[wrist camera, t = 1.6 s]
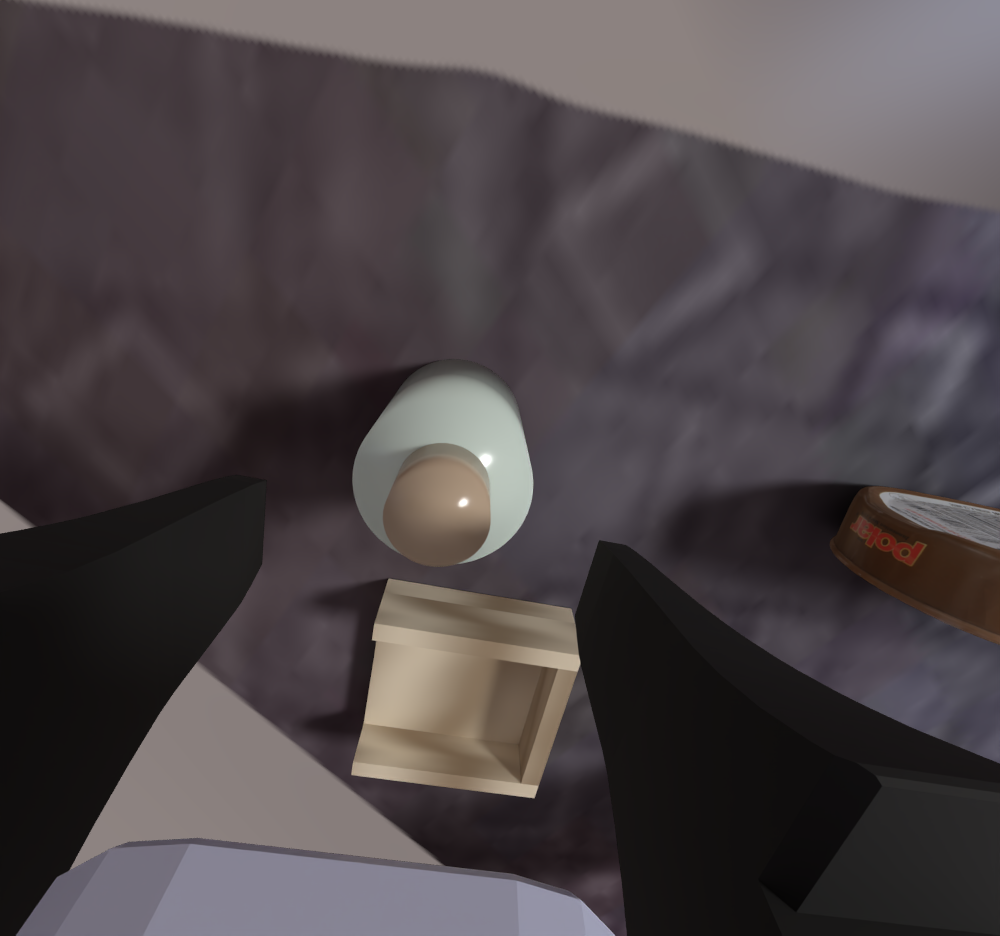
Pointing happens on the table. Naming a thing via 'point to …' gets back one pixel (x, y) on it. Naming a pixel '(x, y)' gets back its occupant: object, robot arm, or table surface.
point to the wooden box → (465, 689)
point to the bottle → (445, 466)
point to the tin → (927, 554)
